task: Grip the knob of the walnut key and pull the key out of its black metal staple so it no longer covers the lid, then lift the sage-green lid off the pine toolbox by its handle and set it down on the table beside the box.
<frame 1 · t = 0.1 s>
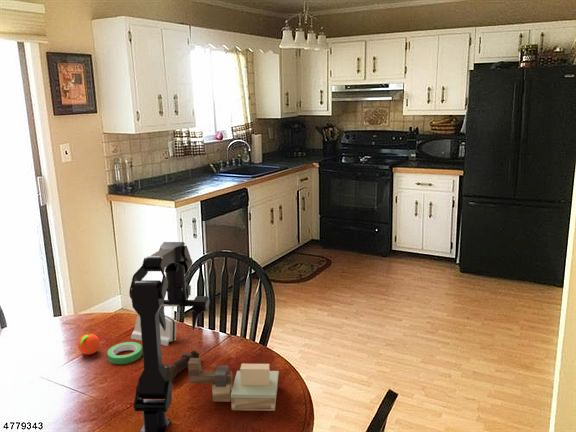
hand: (179, 329, 157), 15 cm above the table, tool pointing down, fingers open, 9 cm apart
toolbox: (255, 397, 145), on the table
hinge: (155, 338, 184), on the table
key: (210, 370, 144), point 8 cm above the table, slide at 3.6 cm
lid: (255, 385, 145), point 4 cm above the table, touching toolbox
tape roll: (125, 357, 171), on the table
clementine: (89, 354, 173), on the table
bolt: (182, 371, 161), on the table
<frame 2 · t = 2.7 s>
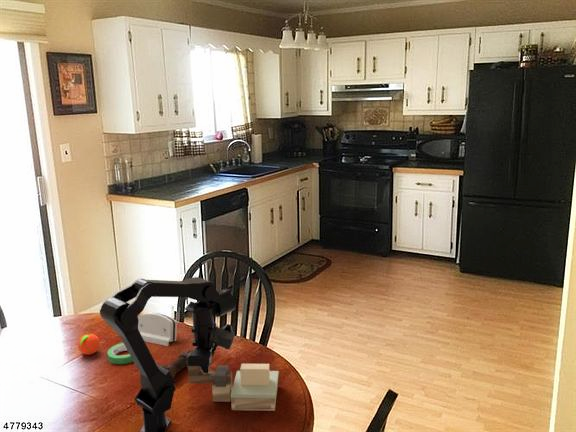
hand: (206, 372, 144), 8 cm above the table, tool pointing down, fingers closed, pressing on key
key: (210, 370, 144), point 8 cm above the table, slide at 3.7 cm, touching gripper
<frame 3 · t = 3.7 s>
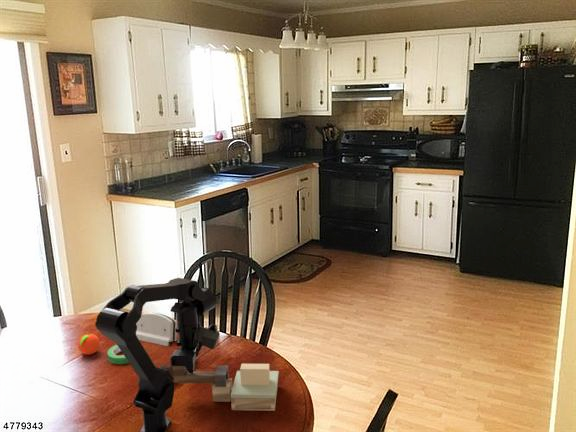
hand: (191, 372, 145), 8 cm above the table, tool pointing down, fingers closed, pressing on key
key: (195, 370, 144), point 8 cm above the table, slide at 8.1 cm, touching gripper
everything else where it was.
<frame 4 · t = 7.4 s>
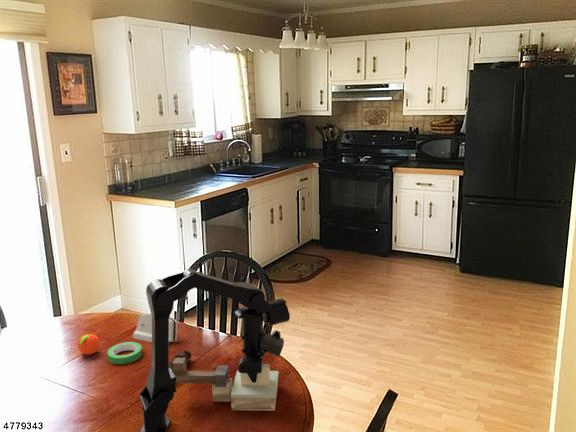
hand: (254, 379, 144), 6 cm above the table, tool pointing down, fingers closed on lid, 3 cm apart
key: (195, 370, 144), point 8 cm above the table, slide at 8.0 cm
lid: (255, 385, 145), point 4 cm above the table, touching gripper, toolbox
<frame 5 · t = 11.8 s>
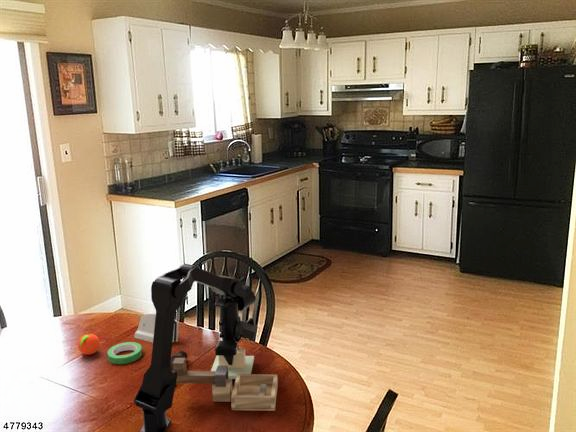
hand: (231, 362, 159), 3 cm above the table, tool pointing down, fingers closed on lid, 3 cm apart
lid: (232, 368, 159), point 1 cm above the table, touching gripper
when the fingers open (3 cm above the table, at t = 11.9 s): lid drops 2 cm, on the table.
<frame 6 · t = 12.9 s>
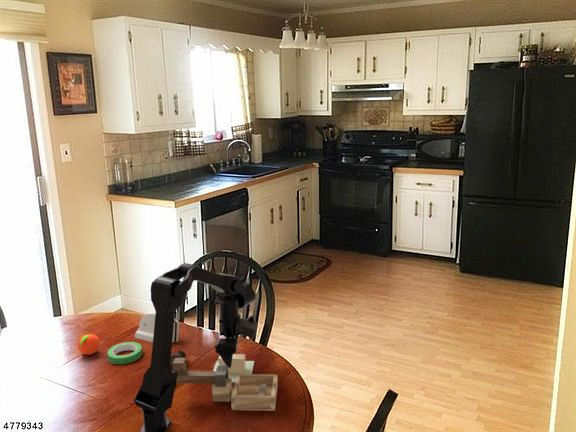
hand: (231, 359, 159), 4 cm above the table, tool pointing down, fingers open, 9 cm apart
lid: (232, 373, 160), on the table
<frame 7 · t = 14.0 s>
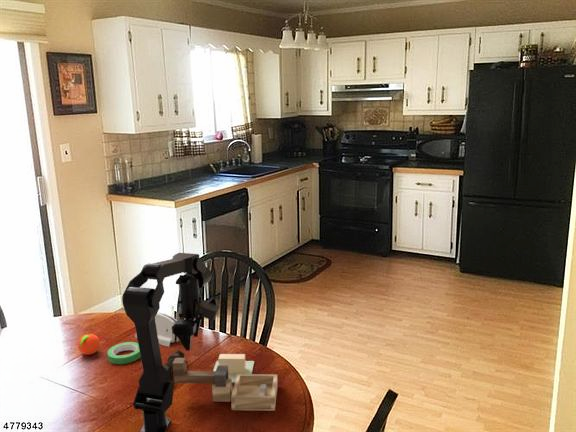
hand: (192, 343, 152), 13 cm above the table, tool pointing down, fingers open, 9 cm apart
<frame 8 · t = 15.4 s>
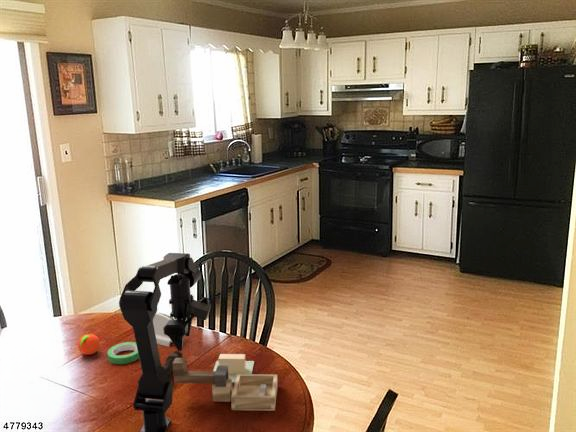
hand: (184, 343, 151), 13 cm above the table, tool pointing down, fingers open, 9 cm apart
at the end: key slide at 8.0 cm; lid inside the target area (0.2 cm from its centre), on the table; lid tilted 0° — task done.
